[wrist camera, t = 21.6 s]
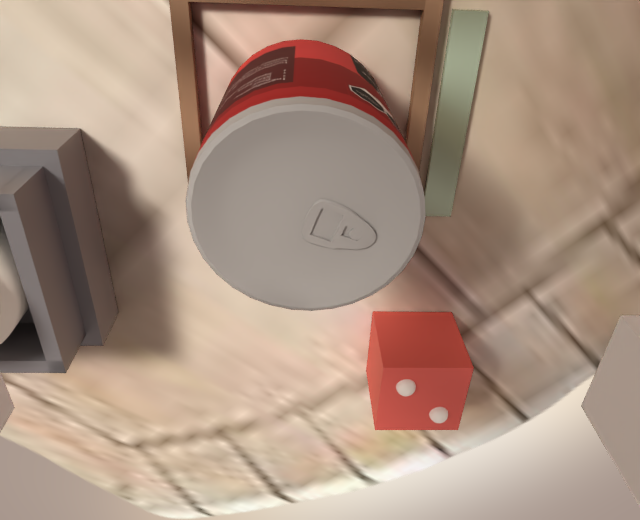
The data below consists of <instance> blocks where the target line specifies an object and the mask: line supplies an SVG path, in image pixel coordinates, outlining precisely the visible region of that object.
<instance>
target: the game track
mask: <svg viewBox="0 0 640 520" xmlns="http://www.w3.org/2000/svg"><path fill="white" fill-rule="evenodd" d="M169 2H170V12H171V22H172V32H173V41H174V51H175V61H176V70H177V80H178V90H179V99H180V109H181V119H182V128H183V138H184V148H185V158H186V167H187V177H188V183H189V177H190V171H191V169H192V167H193V164H194V162H195V158H196V156H197V154H198V151H199V149H200V146H201V144H202V132H201V121H200V109H199V97H198V85H197V73H196V61H195V49H194V37H193V26H192V14H191V2H212V3H241V4H269V5H297V6H325V7H354V8H382V9H410V10H422V11H421V19H420V27H419V35H418V43H417V51H416V59H415V67H414V75H413V83H412V91H411V99H410V107H409V115H408V123H407V131H406V139H405V142H406V144H407V146H408V148H409V150H410V152H411V154H412V156H413V160H414V162H415V164H416V166H417V168H418V171H419V169H420V162H421V155H422V148H423V141H424V134H425V127H426V120H427V114H428V107H429V100H430V93H431V86H432V79H433V72H434V65H435V58H436V51H437V44H438V37H439V30H440V23H441V16H442V9H443V2H444V0H169ZM488 14H489V11H486V10H457V9H452V15H451V21H450V28H449V35H448V41H447V48H446V54H445V61H444V67H443V74H442V80H441V87H440V93H439V100H438V107H437V113H436V120H435V126H434V133H433V139H432V146H431V152H430V159H429V165H428V172H427V179H426V185H425V192H424V196H425V216H449V217H451V212H452V207H453V202H454V196H455V191H456V186H457V180H458V175H459V170H460V164H461V159H462V153H463V148H464V143H465V137H466V132H467V127H468V121H469V116H470V110H471V105H472V100H473V94H474V89H475V84H476V78H477V73H478V68H479V62H480V57H481V51H482V46H483V41H484V35H485V30H486V25H487V19H488Z"/></svg>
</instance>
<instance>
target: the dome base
mask: <svg viewBox="0 0 640 520" xmlns="http://www.w3.org/2000/svg"><path fill="white" fill-rule="evenodd" d="M0 217H1V220H2V223H3V226H4V229H5V232H6V235H7V239H8V242H9V245H10V248H11V251H12V254H13V258H14V261H15V264H16V267H17V270H18V273H19V276H20V280H21V283H22V286H23V289H24V292H25V295H26V299H27V302H28V305H29V308H28V310H27V311H26V313H25V314H24V315H23V317H22V318H21V320H20V321H19V323H18V324H17V325H16V327H15V328H14V330H13V331H12V332H11V334H10V335H9V336H8V338H7V339H6V340H5V341H4V342H3V343H1V344H0V372H1V373H66V372H67V370H68V368H69V366H70V364H71V362H72V360H73V359H74V357H75V355H76V353H77V351H78V349H79V347H80V346H103V345H104V343H105V341H106V339H107V336H108V334H109V332H110V330H111V328H112V326H113V324H114V321H115V319H116V317H117V315H118V309H117V304H116V299H115V294H114V289H113V285H112V280H111V275H110V270H109V265H108V261H107V256H106V251H105V246H104V241H103V236H102V232H101V227H100V222H99V217H98V212H97V207H96V203H95V198H94V193H93V188H92V183H91V179H90V174H89V169H88V164H87V159H86V154H85V150H84V145H83V140H82V135H81V130H80V129H77V128H36V127H0Z"/></svg>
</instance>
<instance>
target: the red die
mask: <svg viewBox="0 0 640 520" xmlns="http://www.w3.org/2000/svg"><path fill="white" fill-rule="evenodd" d="M473 369H474V368H473V365H472V362H471V360H470V357H469V355H468V352H467V350H466V347H465V345H464V342H463V339H462V337H461V334H460V332H459V329H458V327H457V324H456V322H455V319H454V317H453V314H452V312H373V315H372V324H371V333H370V342H369V351H368V360H367V369H366V372H367V379H368V385H369V392H370V399H371V406H372V412H373V419H374V426H375V430H458V428H459V424H460V420H461V416H462V412H463V408H464V404H465V400H466V397H467V393H468V389H469V385H470V381H471V377H472V373H473Z"/></svg>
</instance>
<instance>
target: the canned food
mask: <svg viewBox="0 0 640 520" xmlns="http://www.w3.org/2000/svg"><path fill="white" fill-rule="evenodd" d="M186 210H187V222H188V225H189V228H190V231H191V235H192V238H193V241H194V243H195V244H196V246H197V248H198V250H199V252H200V253H201V255H202V257H203V259H204V260H205V261H206V262H207V263H208V265H209V266H210V267H211V268H212V269H213V271H214V272H215V273H216V274H217V275H218V276H219V277H221V278H222V279H223V280H224V281H225V282H227V283H228V284H229V285H230V286H232V287H233V288H235V289H236V290H238V291H240V292H242V293H243V294H245V295H247V296H249V297H250V298H253V299H255V300H258V301H261V302H263V303H266V304H269V305H272V306H277V307H282V308H286V309H292V310H310V311H313V310H324V309H333V308H337V307H341V306H345V305H349V304H353V303H355V302H357V301H360V300H362V299H364V298H366V297H369V296H371V295H373V294H374V293H376V292H377V291H379V290H380V289H382V288H383V287H385V286H386V285H388V284H389V283H390V282H391V281H392V280H393V279H394V278H395V277H396V276H397V275H399V274H400V273H401V272H402V271H403V269H404V268H405V266H406V265H407V264H408V262H409V261H410V259H411V258H412V257H413V255H414V253H415V251H416V249H417V246H418V244H419V242H420V239H421V237H422V233H423V227H424V222H425V196H424V192H423V186H422V182H421V178H420V175H419V171H418V168H417V166H416V164H415V162H414V160H413V156H412V154H411V152H410V150H409V148H408V146H407V144H406V142H405V140H404V138H403V136H402V134H401V132H400V130H399V128H398V126H397V124H396V122H395V120H394V118H393V116H392V114H391V112H390V110H389V108H388V106H387V104H386V102H385V100H384V98H383V96H382V94H381V92H380V90H379V88H378V87H377V85H376V83H375V81H374V79H373V77H372V76H371V75H370V74H369V72H368V71H367V70H366V69H365V67H364V66H363V65H362V64H361V63H360V62H358V61H357V60H356V59H355V58H354V57H352V56H351V55H350V54H348V53H346V52H345V51H343V50H341V49H339V48H337V47H335V46H333V45H329V44H326V43H323V42H319V41H312V40H301V39H300V40H291V41H283V42H280V43H277V44H274V45H271V46H267V47H266V48H264V49H262V50H261V51H259V52H257V53H255V54H254V55H252V56H251V57H250V58H249V59H248V60H247V61H246V62H245V63H244V64H242V65H241V66H240V68H239V69H238V71H237V72H236V74H235V75H234V76H233V78H232V79H231V81H230V84H229V86H228V88H227V90H226V92H225V94H224V96H223V99H222V101H221V103H220V105H219V107H218V109H217V111H216V114H215V116H214V118H213V120H212V122H211V124H210V126H209V129H208V131H207V133H206V135H205V137H204V139H203V142H202V144H201V146H200V149H199V151H198V154H197V156H196V158H195V162H194V164H193V167H192V169H191V171H190V177H189V183H188V189H187V196H186Z"/></svg>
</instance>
